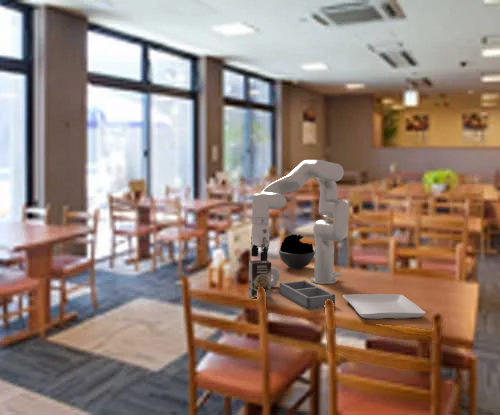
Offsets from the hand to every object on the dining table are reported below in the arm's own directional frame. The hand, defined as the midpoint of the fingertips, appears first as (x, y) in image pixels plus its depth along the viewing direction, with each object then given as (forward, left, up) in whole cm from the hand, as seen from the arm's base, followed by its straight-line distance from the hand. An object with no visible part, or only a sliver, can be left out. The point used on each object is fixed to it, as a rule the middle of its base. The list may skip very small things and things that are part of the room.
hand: (259, 258), depth 231 cm
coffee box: (0, 0, -18) cm, 18 cm away
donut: (-11, -11, -18) cm, 24 cm away
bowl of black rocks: (-43, -41, -18) cm, 62 cm away
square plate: (-39, +38, -18) cm, 58 cm away
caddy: (-17, +13, -18) cm, 28 cm away
